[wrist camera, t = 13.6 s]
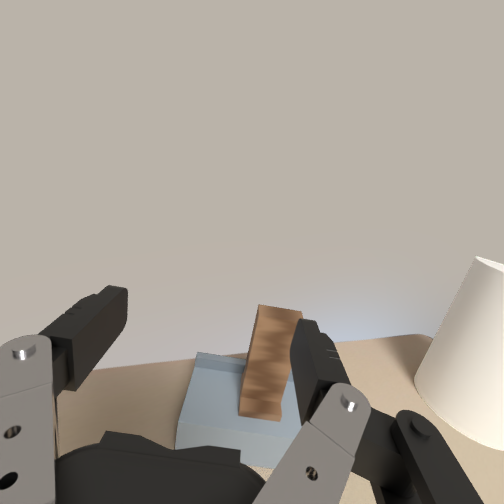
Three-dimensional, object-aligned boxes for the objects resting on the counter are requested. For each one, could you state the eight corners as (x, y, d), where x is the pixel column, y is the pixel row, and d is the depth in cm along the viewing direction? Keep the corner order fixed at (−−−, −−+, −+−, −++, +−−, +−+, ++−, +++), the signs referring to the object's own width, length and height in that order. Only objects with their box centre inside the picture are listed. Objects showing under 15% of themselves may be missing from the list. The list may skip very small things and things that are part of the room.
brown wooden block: (238, 416, 33) (259, 324, 28) (240, 378, 39) (258, 297, 34) (280, 422, 33) (307, 332, 29) (276, 384, 39) (299, 303, 34)
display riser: (174, 454, 33) (179, 411, 30) (192, 389, 42) (197, 351, 40) (325, 476, 34) (342, 435, 31) (310, 407, 43) (322, 371, 41)
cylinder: (518, 475, 39) (647, 320, 29) (401, 390, 51) (466, 261, 41) (525, 417, 50) (619, 291, 41) (427, 359, 62) (483, 251, 52)
